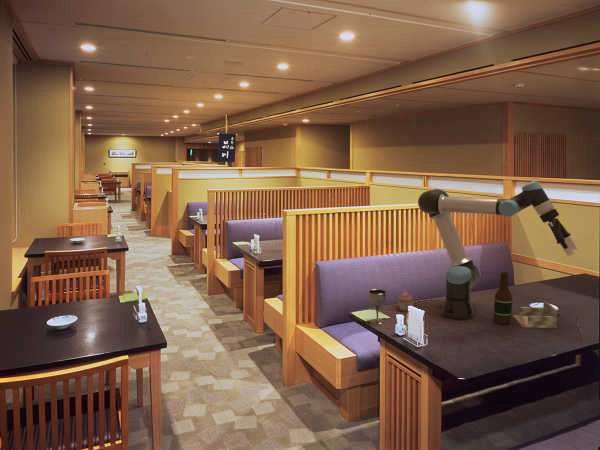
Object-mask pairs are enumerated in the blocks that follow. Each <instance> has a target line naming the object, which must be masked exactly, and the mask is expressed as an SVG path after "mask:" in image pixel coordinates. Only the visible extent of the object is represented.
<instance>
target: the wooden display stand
mask: <svg viewBox="0 0 600 450" xmlns="http://www.w3.org/2000/svg"><path fill="white" fill-rule="evenodd" d="M518 311H519V312H518V314H512V318H513V319H514V321H515V322H516V323H517V324H518V325H519V326H520V327H521V328H528V329H529V328H533V329H535V328H536V329H538V328H540V329H541V328H542V329H557V328H558V325H557V324H558V310H557V308H555V307H554V306H552V305H551V304H550V303H549V302H547V301H543V304H542V307H536V306H534V307H532V306H530V307H529V306H527V307H525V306H520V307H519V309H518Z"/></svg>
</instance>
